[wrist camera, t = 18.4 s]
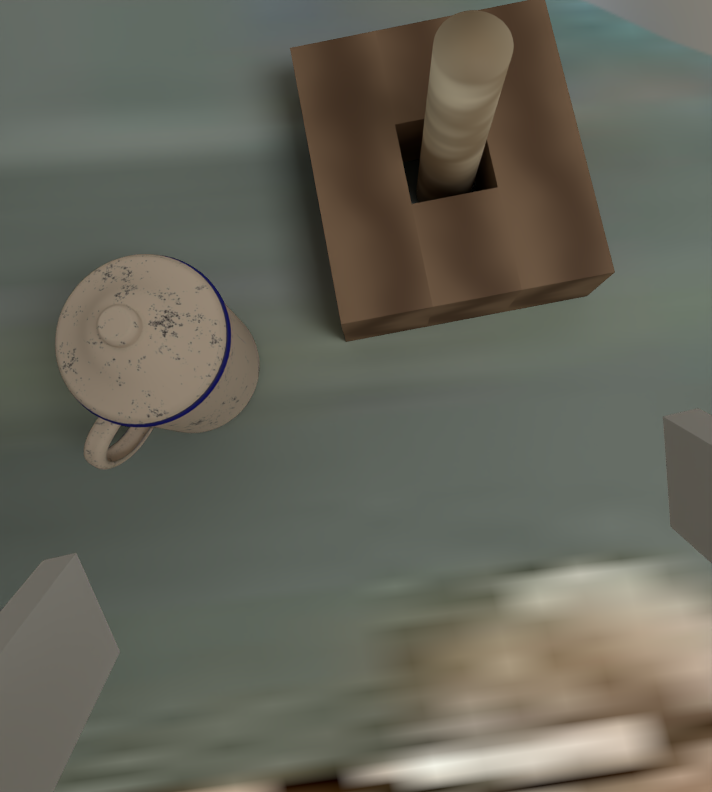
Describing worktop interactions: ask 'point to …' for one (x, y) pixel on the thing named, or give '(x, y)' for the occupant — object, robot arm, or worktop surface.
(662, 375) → the worktop surface
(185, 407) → the teacup with lid
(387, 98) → the walnut hole block
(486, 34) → the birch pin
